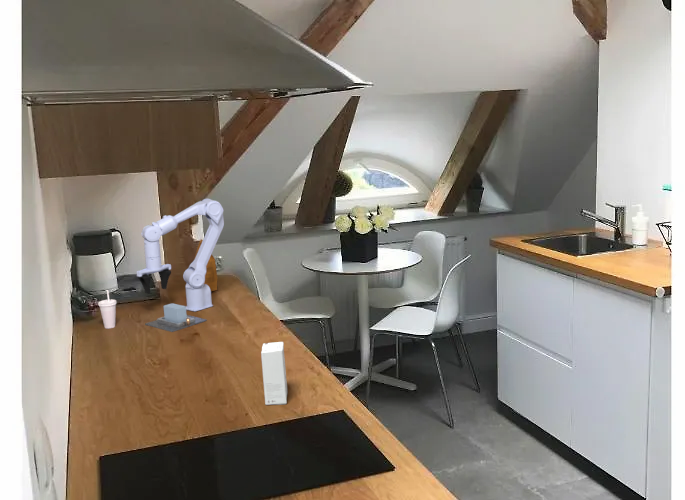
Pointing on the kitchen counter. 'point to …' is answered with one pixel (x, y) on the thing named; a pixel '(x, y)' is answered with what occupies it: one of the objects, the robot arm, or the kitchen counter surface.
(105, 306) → the smoothie
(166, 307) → the light blue block
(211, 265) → the coffee package
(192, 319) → the pocket plate
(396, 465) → the kitchen counter surface
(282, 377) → the skincare box
